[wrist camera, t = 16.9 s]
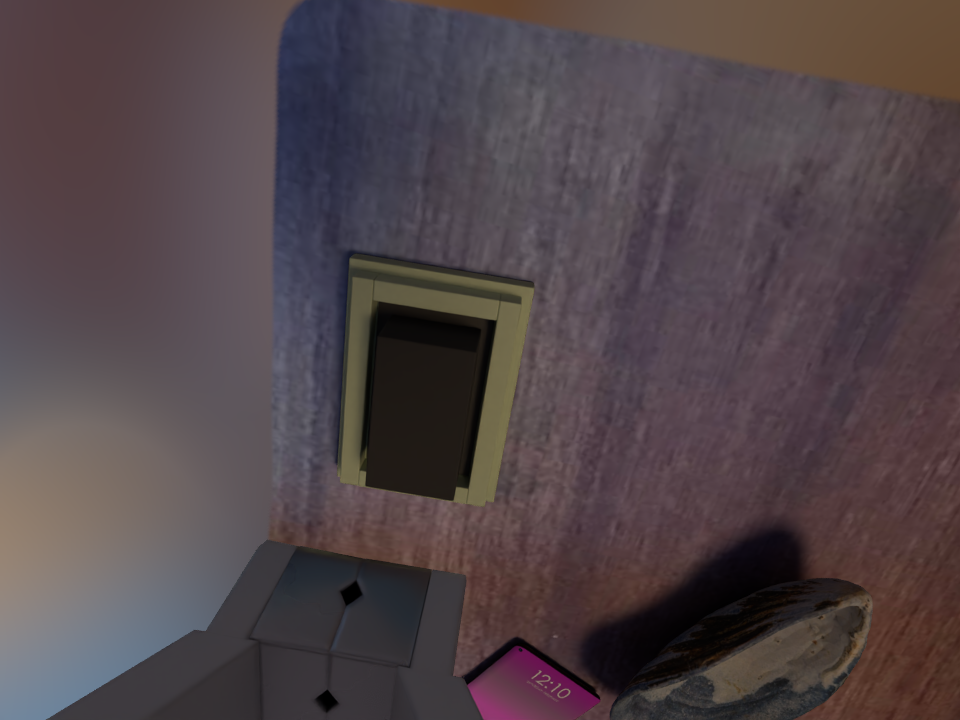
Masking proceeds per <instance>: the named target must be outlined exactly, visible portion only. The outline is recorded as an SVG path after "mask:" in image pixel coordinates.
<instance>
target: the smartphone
mask: <svg viewBox="0 0 960 720" xmlns="http://www.w3.org/2000/svg"><path fill="white" fill-rule="evenodd" d="M467 686H468V688H469V690H470V692H471V694H472V697H473V699H474V701H475V703H476V705H477V707H478V709H479V711H480V713H481V715H482V717H483V719H484V720H576V719H577V718H578V717H580V716H581V715H583V714H584V713H585V712H587V711H588V710H590V709H591V708H592V707H594V706H595V705H597V704H598V703H599V702H600V697H599V695H598V694H597V693H595V692H594V691H592V690H591V689H589V688H588V687H586V686H585V685H584V684H582V683H581V682H579V681H578V680H576V679H575V678H573V677H572V676H570V675H569V674H567V673H566V672H565V671H563V670H562V669H560V668H559V667H557V666H556V665H554V664H553V663H551V662H550V661H548V660H547V659H546V658H544V657H543V656H541V655H540V654H538V653H537V652H535V651H534V650H532V649H531V648H529V647H528V646H527V645H525V644H523V643H518V644H516V645H515V646H514V647H512V648H511V649H510V650H509V651H507V652H506V653H505V654H504V655H503V656H501V657H500V658H499V659H498V660H496V661H495V662H494V663H493V664H492V665H490V666H489V667H488V668H487V669H485V670H484V671H483V672H482V673H480V674H479V675H478V676H477V677H476V678H474V679H473V680H472V681H471V682H469V683H468V684H467Z"/></svg>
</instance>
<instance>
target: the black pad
mask: <svg viewBox="0 0 960 720" xmlns="http://www.w3.org/2000/svg"><path fill="white" fill-rule="evenodd" d="M481 332H482V331H481V329H476V328H470V327H464V326H458V325H452V324H445V323H439V322H433V321H427V320H421V319H415V318H409V317H403V316H397V315H392V316H391V317H390V319H389V320H388V322H387V323H386V325H385V326H384V327H383V329H382V330H381V332H380V333H379V335H378V336H377V345H376V357H375V370H374V382H373V394H372V407H371V419H370V432H369V444H368V456H367V469H366V481H365V486H366V487H372V488H377V489H383V490H389V491H395V492H401V493H407V494H413V495H419V496H425V497H431V498H437V499H443V500H449V501H453V500H454V496H455V491H456V486H457V481H458V476H459V470H460V465H461V458H462V452H463V446H464V439H465V433H466V427H467V420H468V414H469V408H470V401H471V395H472V389H473V382H474V376H475V370H476V363H477V357H478V351H479V345H480V338H481Z"/></svg>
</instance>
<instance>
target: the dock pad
mask: <svg viewBox="0 0 960 720" xmlns="http://www.w3.org/2000/svg"><path fill="white" fill-rule="evenodd" d="M533 294H534V283H533V282H526V281H520V280H514V279H508V278H502V277H496V276H490V275H484V274H478V273H472V272H466V271H460V270H453V269H447V268H441V267H435V266H429V265H423V264H417V263H411V262H405V261H399V260H393V259H387V258H380V257H374V256H368V255H362V254H354V255H353V256H351V257H350V259H349V275H348V292H347V310H346V327H345V345H344V362H343V380H342V397H341V415H340V432H339V450H338V467H337V476H340V483H345V484H351V485H359V486H362V487H366V486H365V481H366V469H367V456H368V444H369V432H370V419H371V407H372V394H373V382H374V370H375V357H376V345H377V336H378V335H379V333H380V332H381V330H382V329H383V327H384V326H385V325H386V323H387V322H388V320H389V319H390V317H391V316H392V315H397V316H403V317H409V318H415V319H421V320H427V321H433V322H439V323H445V324H452V325H458V326H464V327H470V328H476V329H481V331H482V332H481V338H480V345H479V351H478V357H477V363H476V370H475V376H474V382H473V389H472V395H471V401H470V408H469V414H468V420H467V427H466V433H465V439H464V446H463V452H462V458H461V465H460V470H459V476H458V481H457V486H456V491H455V496H454V500H453V501H451V502H457V503H463V504H469V505H475V506H481V507H484V506H485V501H489V502H493V501H494V497H495V492H496V487H497V481H498V476H499V471H500V466H501V461H502V455H503V450H504V445H505V440H506V435H507V429H508V424H509V419H510V414H511V409H512V403H513V398H514V393H515V388H516V383H517V377H518V372H519V367H520V362H521V356H522V351H523V346H524V341H525V336H526V330H527V325H528V320H529V315H530V310H531V304H532V299H533ZM368 488H372V487H368ZM374 489H377V488H374ZM380 490H383V489H380ZM386 491H389V490H386ZM392 492H395V491H392ZM398 493H401V492H398ZM404 494H407V493H404ZM410 495H413V494H410ZM416 496H419V495H416ZM422 497H425V496H422ZM428 498H431V497H428ZM433 499H437V498H433ZM439 500H443V499H439ZM445 501H449V500H445Z"/></svg>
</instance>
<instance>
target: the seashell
mask: <svg viewBox="0 0 960 720" xmlns="http://www.w3.org/2000/svg"><path fill="white" fill-rule="evenodd" d="M871 615H872V599H871V595H870V594H869V593H868V592H867V591H866V590H865V589H864V588H862V587H861V586H859V585H856V584H854V583H851V582H848V581H844V580H840V579H834V578H816V579H807V580H799V581H793V582H786V583H781V584H777V585H774V586H770V587H767V588H764V589H761V590H759V591H756V592H754V593H752V594H751V595H749V596H747V597H744V598H742V599H740V600H738V601H735V602H733V603H731V604H729V605H727V606H725V607H723V608H721V609H718V610H716V611H715V612H713V613H711V614H709V615H707V616H705V617H704V618H702V619H701V620H700V621H699V622H697V623H696V624H695V625H694V626H692V627H691V628H689V629H688V630H686V631H685V632H683V633H682V634H680V635H679V636H678V637H676V638H675V639H673V640H672V641H671V642H670V643H668V644H667V645H666V646H665V647H664V648H663V649H662V650H661V651H660V652H659V654H658V655H657V657H656V658H654V659H653V660H652V661H650V662H649V663H648V664H646V665H645V666H644V667H643V668H642V669H641V670H640V671H639V672H638V673H637V674H636V675H635V676H634V677H633V679H632V680H631V681H630V683H629V684H628V686H627V687H626V688H625V689H624V691H623V692H622V693H621V694H620V695H619V696H618V697H617V699H616V700H615V701H614V703H613V704H612V708H611V711H610V720H793V719H795V718H797V717H799V716H801V715H803V714H805V713H807V712H809V711H810V710H812V709H814V708H815V707H817V706H819V705H820V704H822V703H824V702H825V701H827V700H828V699H829V698H830V697H831V696H832V695H833V694H834V693H835V692H836V691H837V690H838V688H839V687H840V686H841V685H843V684H844V682H845V680H846V679H847V677H848V676H849V674H850V672H851V671H852V669H853V668H854V666H855V665H856V663H857V662H858V661H859V659H860V657H861V654H862V652H863V650H864V649H865V647H866V644H867V635H868V631H869V629H870V626H871V620H872V619H871Z"/></svg>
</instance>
